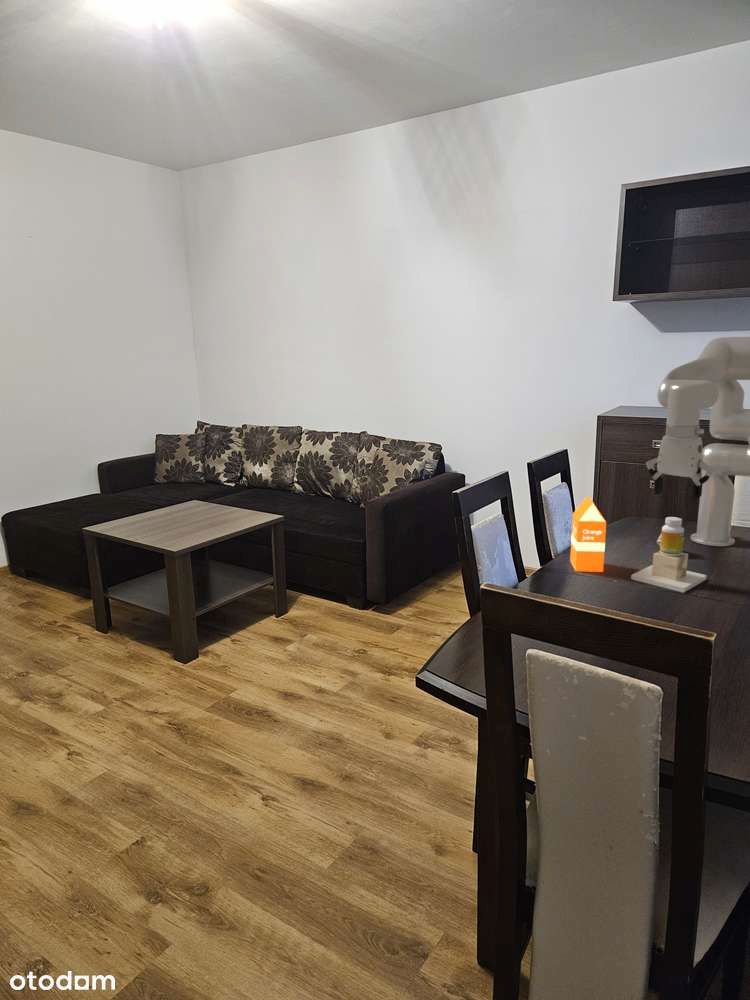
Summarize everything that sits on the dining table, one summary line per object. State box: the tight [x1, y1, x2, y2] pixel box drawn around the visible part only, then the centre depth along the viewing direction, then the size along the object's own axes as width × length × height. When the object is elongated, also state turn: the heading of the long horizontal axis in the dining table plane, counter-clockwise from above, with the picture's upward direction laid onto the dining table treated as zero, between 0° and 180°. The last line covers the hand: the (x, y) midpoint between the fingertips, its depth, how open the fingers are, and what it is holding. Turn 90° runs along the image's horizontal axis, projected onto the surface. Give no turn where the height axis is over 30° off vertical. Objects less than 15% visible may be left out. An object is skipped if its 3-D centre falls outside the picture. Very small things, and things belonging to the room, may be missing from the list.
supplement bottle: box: [659, 516, 685, 556], centre depth 170 cm, size 5×5×10 cm
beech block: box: [651, 550, 689, 581], centre depth 172 cm, size 6×6×6 cm
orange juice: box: [569, 495, 607, 573], centre depth 182 cm, size 8×9×20 cm
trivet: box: [630, 564, 708, 594], centre depth 172 cm, size 14×14×1 cm
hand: (676, 496), depth 168 cm, fingers open, 9 cm apart
